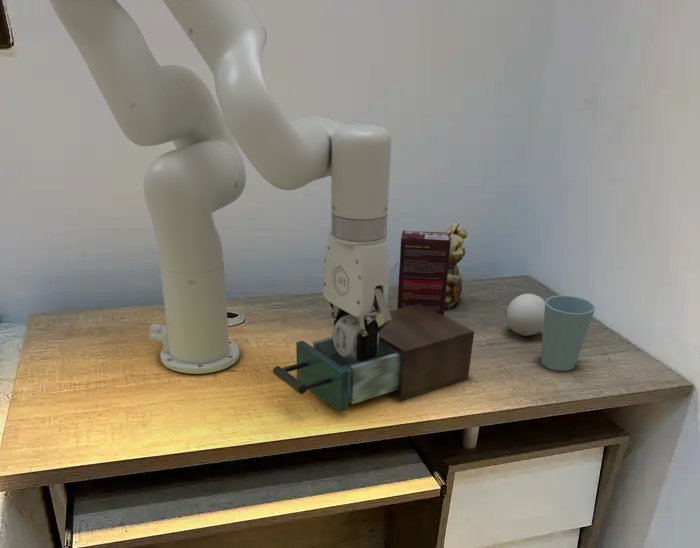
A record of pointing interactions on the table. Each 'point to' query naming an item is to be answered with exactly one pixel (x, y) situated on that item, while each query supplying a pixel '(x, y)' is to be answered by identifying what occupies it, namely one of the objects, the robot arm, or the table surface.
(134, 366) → the table surface
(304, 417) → the table surface
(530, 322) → the white ball
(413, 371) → the cabinet
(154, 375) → the table surface
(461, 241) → the decorative figurine
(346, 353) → the die
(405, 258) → the supplement box
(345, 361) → the teal pull-out drawer
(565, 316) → the cup
